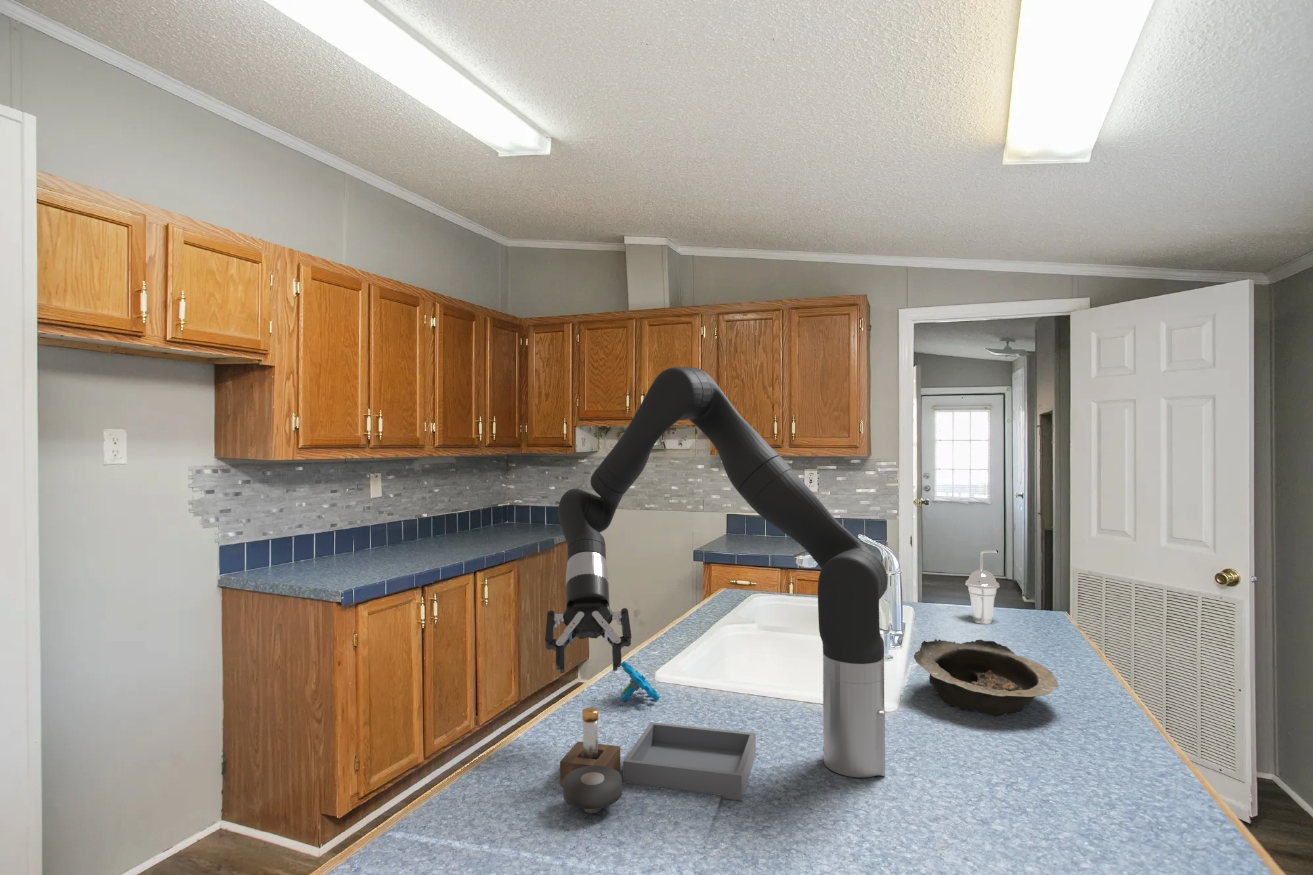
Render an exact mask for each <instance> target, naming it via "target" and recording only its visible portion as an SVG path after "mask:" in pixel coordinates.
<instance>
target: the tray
mask: <svg viewBox="0 0 1313 875" xmlns="http://www.w3.org/2000/svg"><path fill="white" fill-rule="evenodd" d="M756 735H757V734H756V732H748V731H739V730H728V729H719V728H709V727H703V726H702V727H699V726H692V725H690V726H689V725H682V724H681V725H680V724H673V723H662V722H651V721H650V722H649V723H648V725H647V726H646V728H645V729H644V730H643V732H642V733H641V735H640V736H639V738H638V739H637V740H636V742H635V743H634V745H633V747H632V748H631V749H630V751H629V752H628V754H627V755H626V756H625V758H624V759H623V761H622V766H623V768H622V769H623V770H622V772H623V773H622V775H623V778H622V780H623V783H624V784H625V783H626V784H632V785H640V786H641V785H642V786H647V787H649V786H650V787H657V788H662V789H663V788H664V789H672V790H680V791H687V792H695V793H700V794H701V793H702V794H710V795H716V796H717V795H719V796H721V799H725V800H732V801H740V802H741V801H743V799H744V798H743V797H744V795H745V791H746V788H747V785H748V782H749V778H750V775H751V772H752V770H753V765H754V763H755V758H756V755H757V753H756V752H757V747H756V745H757V744H756V743H757V740H756V739H757V738H756Z"/></svg>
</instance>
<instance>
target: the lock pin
mask: <svg viewBox="0 0 1313 875" xmlns="http://www.w3.org/2000/svg"><path fill="white" fill-rule="evenodd" d="M581 712H582V713H581V714H582V715H581V716H582V730H583V731H582V732H583V734H582V739H583V741H582V742H583V758H587V759H596V760H597V759H598V744H599V709H598V708H596V707H585V708H583V709H582V711H581Z"/></svg>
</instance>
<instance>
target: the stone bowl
mask: <svg viewBox="0 0 1313 875" xmlns="http://www.w3.org/2000/svg"><path fill="white" fill-rule="evenodd" d="M913 659H914V660H915V662H916V663H917V664H918V665H919V666H920V667H922V669H924V670H925V671H926V672H927V673H929V677H928V679H929V680H928V681H929V684H931V685H932V686H933V687H934V690H935V692H936V694H937V696H938V698H939V699H940V701H941V702H943V703H944V704H945V705H947V706H948V707H954V708H957V709H958V710H960V711H965V712H971V711H972V712H974V711H976V712H978V713H982V714H986V715H990V716H993V717H1002V716H1005V715H1013V714H1019V713H1021V712H1023V711H1024V709H1025V708H1026V707H1027V706H1028V705H1029V704H1030V703H1032V701H1033V700H1034V699H1035V698H1036V697H1042V696H1046V695H1049V694H1051V693H1052V692H1054V691H1055V690H1056V689H1057V688H1058V687H1060V684H1059V681H1058V680H1057V679H1056V678H1055V677H1054V676H1053V672H1052V671H1051V670H1049V668H1046V666H1043V665H1042V664H1041V663H1038V662H1036V661H1033V660H1031V659H1028V658H1026V657H1024V656H1020V655H1016V654H1015V652H1014V651H1012V650H1011V649H1010V648H1009V647H1008V646H1006V645H1002V644H1000V643H997V642H996V641H993V640H983V639H976V640H975V641H973V640H972V641H965V642H962V643H958V642H956V641H947V640H941V639H938V640H937V638H935V639H934V640H932V641H929V640H928V641H926V640H923V641H922V642H921V645H920V647H919V650H917V651H916V652H915V653H914V654H913Z"/></svg>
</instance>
